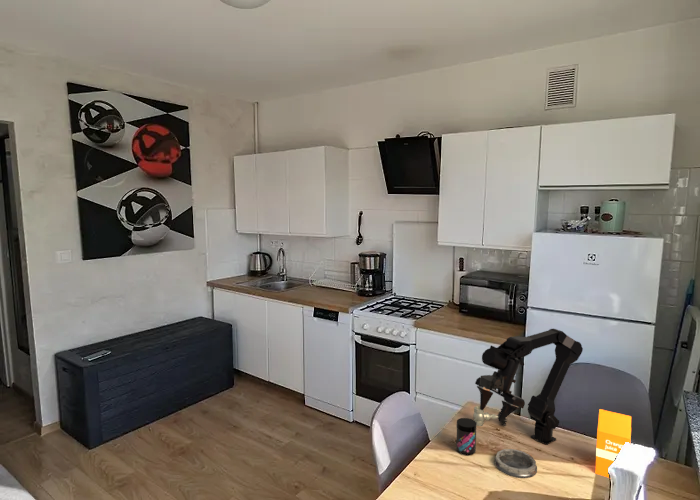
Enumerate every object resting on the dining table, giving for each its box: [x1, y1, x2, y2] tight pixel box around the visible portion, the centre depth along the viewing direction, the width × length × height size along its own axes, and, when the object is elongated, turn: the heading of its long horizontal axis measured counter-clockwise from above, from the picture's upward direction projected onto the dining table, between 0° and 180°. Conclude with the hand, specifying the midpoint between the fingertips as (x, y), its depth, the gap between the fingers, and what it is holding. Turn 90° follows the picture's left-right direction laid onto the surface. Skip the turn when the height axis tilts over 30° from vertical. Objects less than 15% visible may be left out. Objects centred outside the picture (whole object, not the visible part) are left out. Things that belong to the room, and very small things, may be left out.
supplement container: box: [455, 417, 477, 456], centre depth 148 cm, size 7×7×10 cm
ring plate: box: [494, 448, 538, 479], centre depth 139 cm, size 13×13×2 cm
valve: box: [473, 405, 508, 427], centre depth 166 cm, size 7×7×12 cm
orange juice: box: [594, 408, 632, 479], centre depth 135 cm, size 8×9×20 cm
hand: (490, 415), depth 145 cm, fingers open, 9 cm apart
